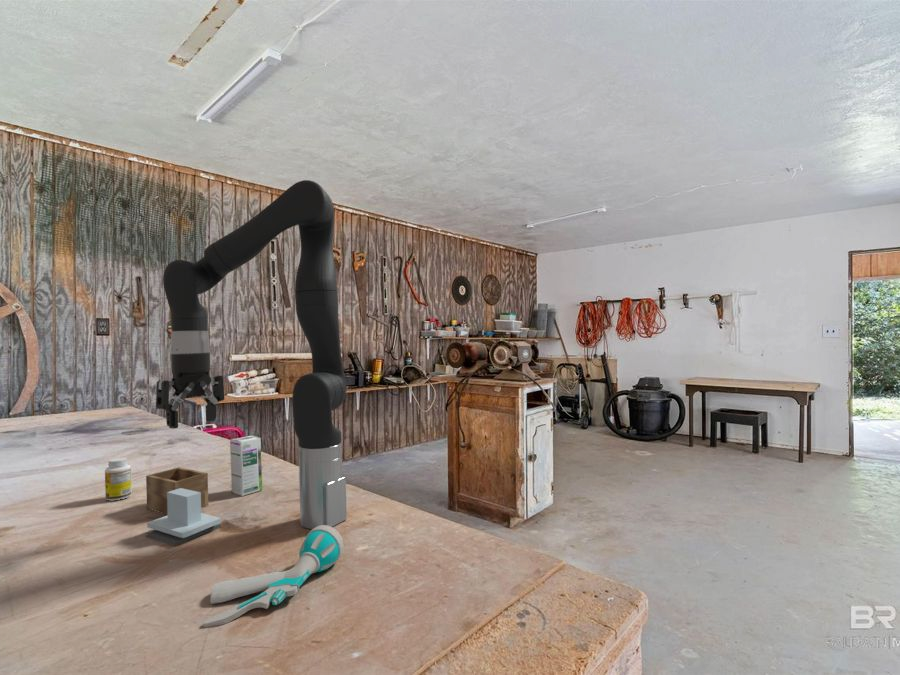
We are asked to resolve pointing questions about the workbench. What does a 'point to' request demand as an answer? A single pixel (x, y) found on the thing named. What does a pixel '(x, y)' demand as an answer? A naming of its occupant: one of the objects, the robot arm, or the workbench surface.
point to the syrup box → (246, 465)
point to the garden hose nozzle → (279, 576)
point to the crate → (174, 486)
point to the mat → (174, 539)
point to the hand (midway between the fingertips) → (192, 424)
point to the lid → (184, 515)
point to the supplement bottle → (118, 479)
